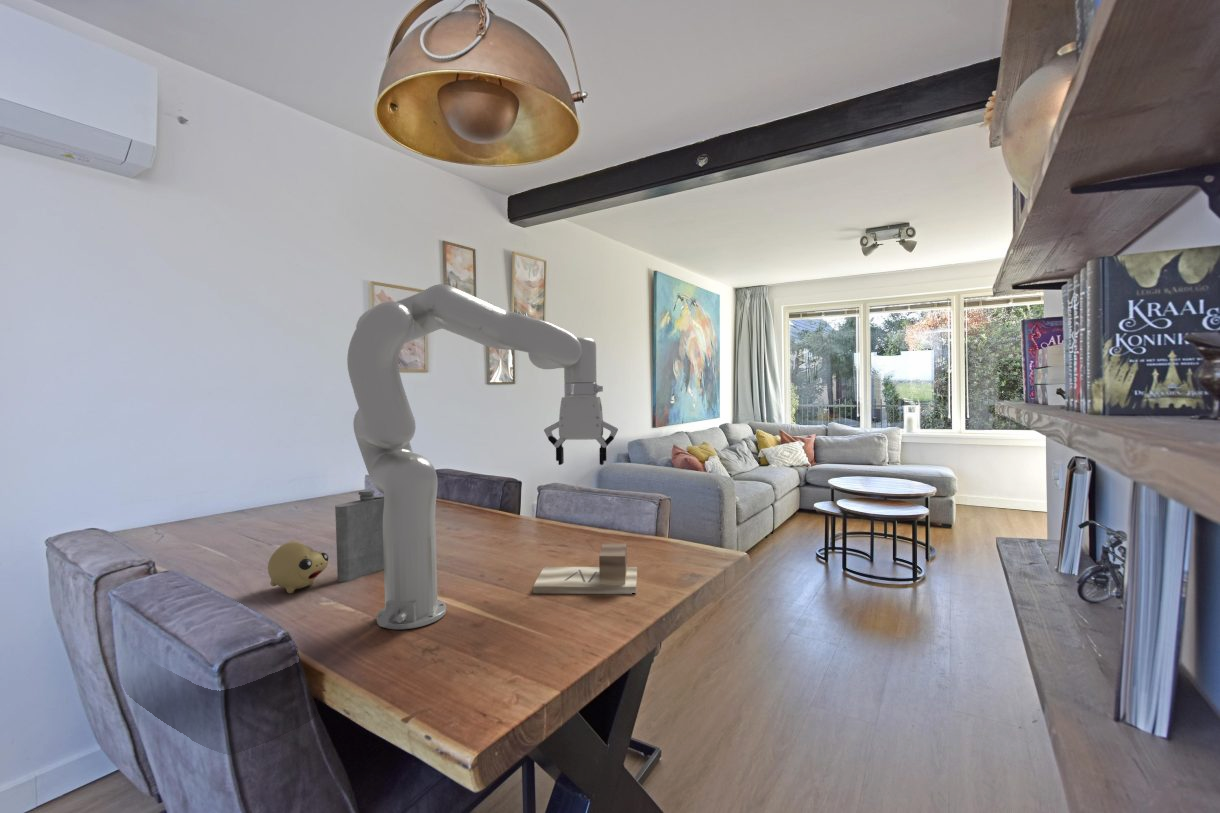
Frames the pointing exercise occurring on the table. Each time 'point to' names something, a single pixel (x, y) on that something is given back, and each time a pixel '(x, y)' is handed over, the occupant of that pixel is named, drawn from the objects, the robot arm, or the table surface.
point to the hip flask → (360, 536)
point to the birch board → (581, 581)
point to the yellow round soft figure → (295, 566)
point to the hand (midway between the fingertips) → (581, 464)
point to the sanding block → (613, 563)
